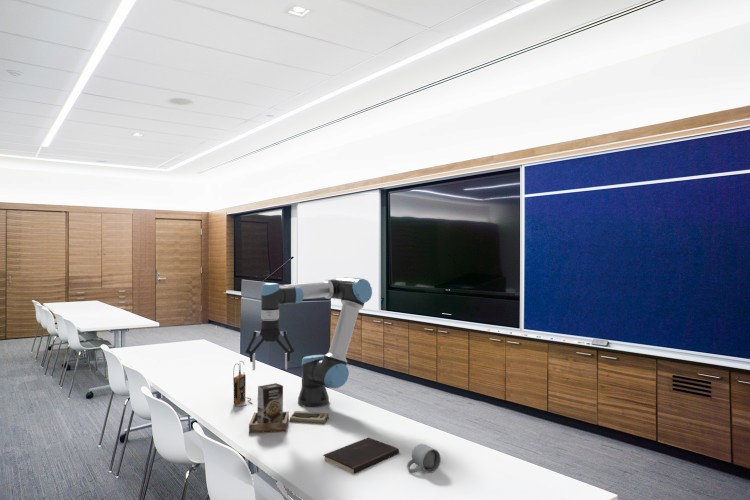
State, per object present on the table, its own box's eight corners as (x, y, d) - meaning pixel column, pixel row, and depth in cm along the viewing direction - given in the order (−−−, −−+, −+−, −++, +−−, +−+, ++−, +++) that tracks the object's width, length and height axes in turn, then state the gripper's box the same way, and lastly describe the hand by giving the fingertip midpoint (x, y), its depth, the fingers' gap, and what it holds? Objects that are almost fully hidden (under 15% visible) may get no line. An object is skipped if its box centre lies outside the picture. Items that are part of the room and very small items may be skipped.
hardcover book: (323, 461, 171) (323, 454, 171) (368, 443, 187) (368, 437, 187) (354, 475, 160) (354, 468, 160) (399, 455, 176) (399, 448, 176)
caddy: (288, 419, 212) (288, 411, 212) (286, 431, 198) (286, 423, 198) (254, 420, 211) (254, 412, 211) (248, 433, 196) (249, 424, 196)
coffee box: (263, 428, 199) (264, 389, 199) (256, 423, 204) (257, 385, 204) (283, 423, 205) (283, 385, 205) (276, 419, 210) (276, 382, 210)
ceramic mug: (427, 461, 170) (427, 439, 170) (441, 470, 163) (441, 447, 163) (402, 468, 165) (401, 445, 165) (415, 477, 157) (415, 454, 157)
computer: (289, 422, 209) (289, 415, 209) (295, 416, 217) (295, 409, 217) (323, 425, 206) (324, 417, 206) (328, 419, 214) (329, 411, 214)
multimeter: (248, 408, 228) (249, 366, 228) (229, 406, 230) (229, 365, 230) (262, 399, 243) (262, 359, 243) (244, 397, 245) (244, 358, 245)
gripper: (238, 321, 200) (238, 372, 199) (299, 320, 202) (299, 370, 202) (241, 318, 207) (241, 367, 207) (300, 317, 210) (300, 366, 210)
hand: (270, 369), depth 205 cm, fingers open, 13 cm apart
